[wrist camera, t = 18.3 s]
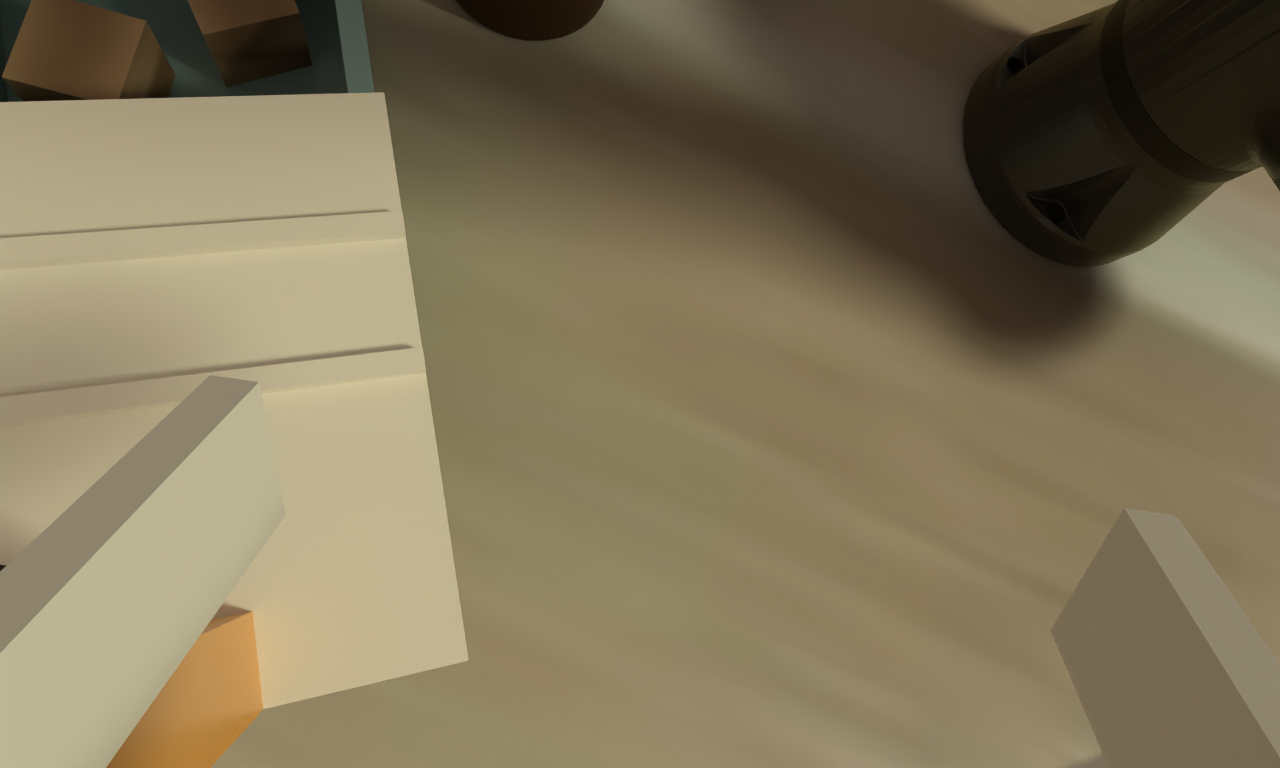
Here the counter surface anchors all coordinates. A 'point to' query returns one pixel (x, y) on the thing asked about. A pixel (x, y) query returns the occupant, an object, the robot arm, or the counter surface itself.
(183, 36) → the tub
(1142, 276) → the counter surface
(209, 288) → the lid
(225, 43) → the walnut block
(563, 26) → the olive oil
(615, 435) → the counter surface
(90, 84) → the walnut block
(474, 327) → the counter surface
